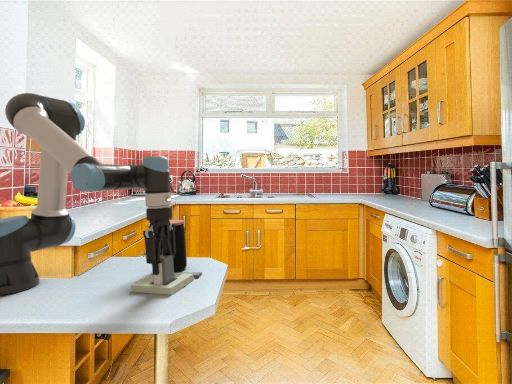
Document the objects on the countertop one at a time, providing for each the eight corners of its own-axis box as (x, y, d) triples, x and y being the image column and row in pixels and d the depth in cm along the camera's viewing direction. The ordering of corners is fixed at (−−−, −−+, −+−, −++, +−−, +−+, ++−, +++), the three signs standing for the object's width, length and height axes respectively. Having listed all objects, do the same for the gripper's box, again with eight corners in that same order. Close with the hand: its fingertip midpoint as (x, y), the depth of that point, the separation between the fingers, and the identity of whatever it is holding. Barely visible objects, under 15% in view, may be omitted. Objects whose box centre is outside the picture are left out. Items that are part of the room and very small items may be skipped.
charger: (153, 284, 90) (151, 258, 90) (162, 279, 95) (160, 254, 94) (166, 285, 89) (164, 258, 89) (174, 280, 93) (172, 255, 93)
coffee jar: (151, 272, 108) (148, 223, 108) (172, 264, 118) (169, 219, 117) (173, 275, 103) (170, 224, 103) (193, 266, 113) (190, 220, 112)
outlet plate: (131, 291, 90) (131, 284, 90) (157, 277, 102) (157, 271, 102) (171, 294, 86) (171, 287, 85) (193, 279, 98) (193, 273, 98)
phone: (178, 278, 100) (178, 275, 100) (182, 274, 104) (182, 272, 104) (198, 277, 99) (198, 275, 99) (201, 274, 103) (201, 272, 103)
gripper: (151, 209, 81) (156, 293, 82) (184, 203, 98) (188, 273, 99) (128, 210, 84) (134, 291, 85) (165, 204, 100) (169, 272, 101)
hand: (163, 281), depth 92 cm, fingers closed on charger, 4 cm apart
